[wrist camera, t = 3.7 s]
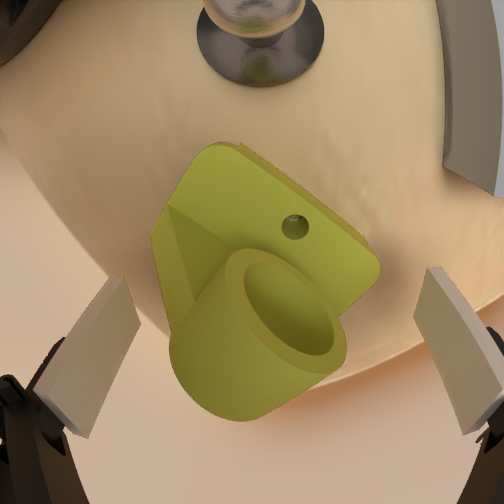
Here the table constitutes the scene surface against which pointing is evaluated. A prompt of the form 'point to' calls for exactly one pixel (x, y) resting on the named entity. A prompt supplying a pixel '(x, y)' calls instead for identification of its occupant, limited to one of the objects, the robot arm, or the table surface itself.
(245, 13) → the ball stud
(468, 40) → the bin
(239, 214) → the bracket
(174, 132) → the table surface
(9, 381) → the robot arm
